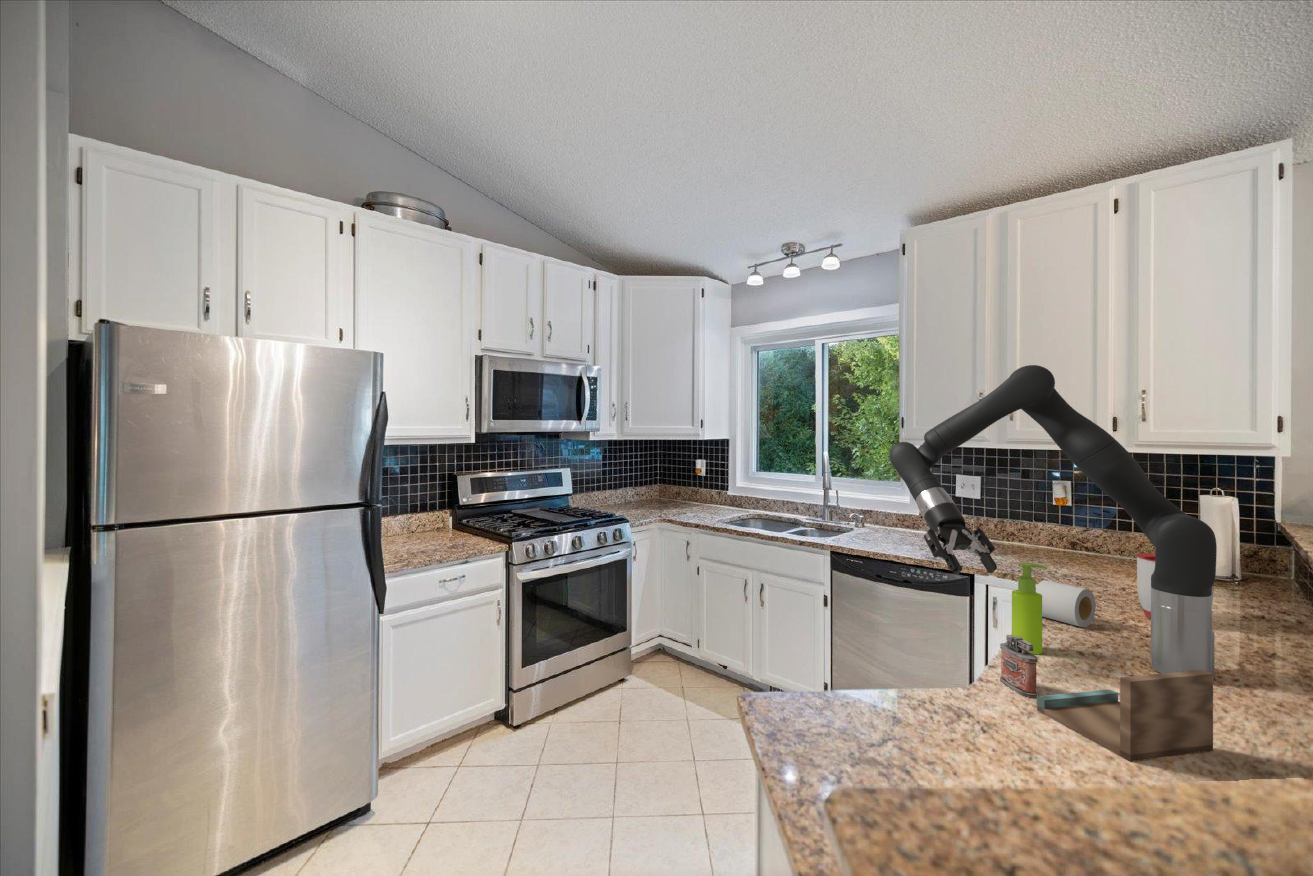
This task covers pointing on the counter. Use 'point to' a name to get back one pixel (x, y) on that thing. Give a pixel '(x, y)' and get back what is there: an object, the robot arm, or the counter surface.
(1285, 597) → the counter surface
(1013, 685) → the lighter
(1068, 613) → the toilet paper
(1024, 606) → the soap dispenser
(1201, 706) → the wall holder
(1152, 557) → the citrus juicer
